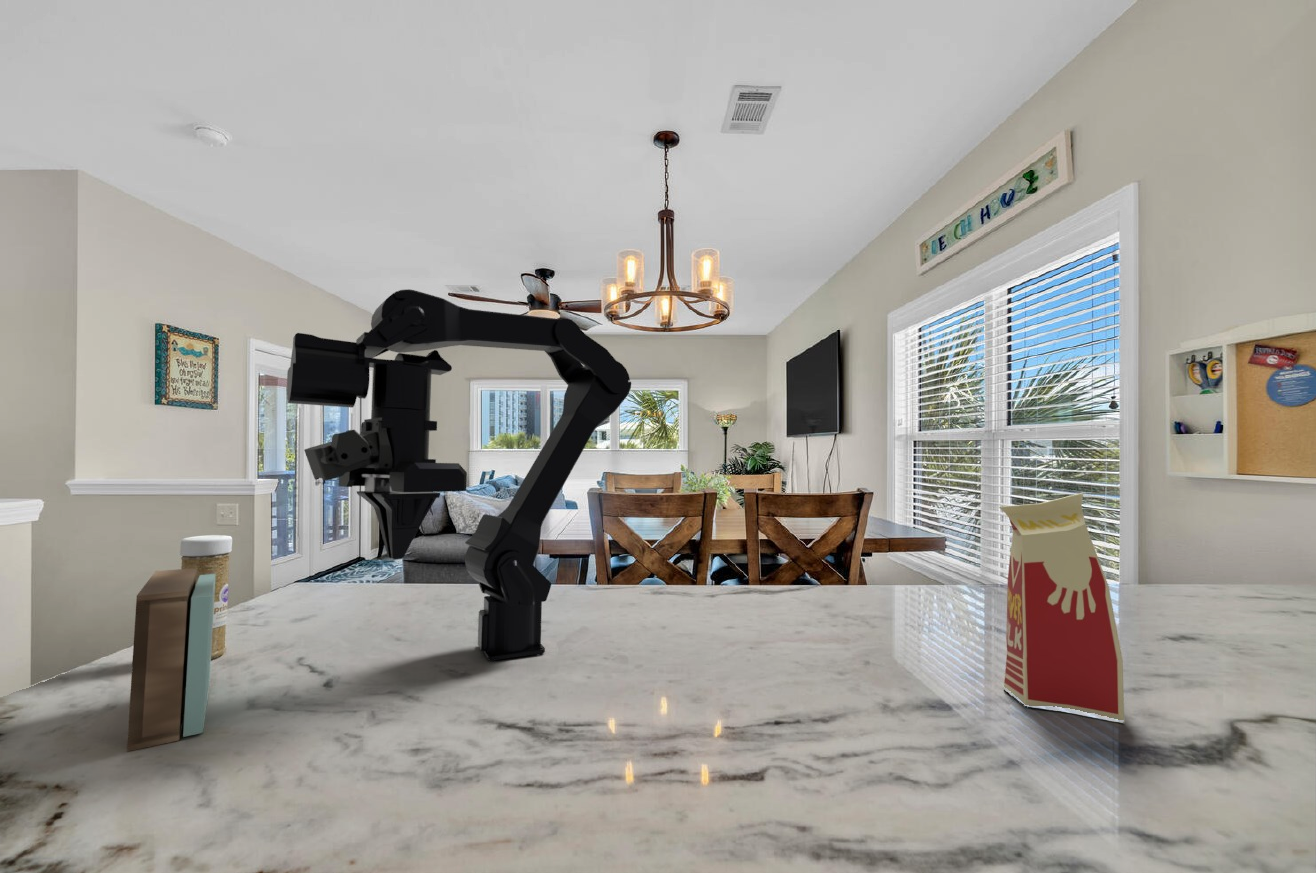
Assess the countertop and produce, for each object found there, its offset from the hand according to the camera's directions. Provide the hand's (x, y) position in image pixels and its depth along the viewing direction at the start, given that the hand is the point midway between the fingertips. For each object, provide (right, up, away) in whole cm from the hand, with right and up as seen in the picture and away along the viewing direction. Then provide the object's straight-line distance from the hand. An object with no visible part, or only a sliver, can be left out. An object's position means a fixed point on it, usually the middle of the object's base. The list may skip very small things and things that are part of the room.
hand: (395, 558), depth 59 cm
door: (-13, -11, -10) cm, 20 cm away
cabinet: (-15, -11, -11) cm, 22 cm away
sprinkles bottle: (-24, -12, +4) cm, 27 cm away
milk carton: (+67, -13, -4) cm, 68 cm away
